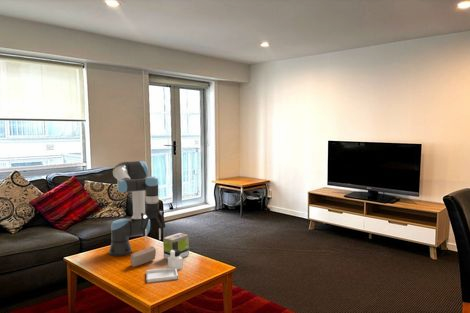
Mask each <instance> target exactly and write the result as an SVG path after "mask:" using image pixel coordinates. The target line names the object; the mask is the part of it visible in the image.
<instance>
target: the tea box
mask: <svg viewBox="0 0 470 313" xmlns="http://www.w3.org/2000/svg"><path fill="white" fill-rule="evenodd" d="M162 240H163V242H162V245H163V258H164V259H165V260H168V257H170V251H171V250H173V249H178V250H180V257H182V258H185V257H187V256H190V242H189V240H190V238H189V234H187V233H181V232H178V233H175V234H170V235H167V236H165V237H163V239H162Z"/></svg>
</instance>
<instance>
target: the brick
mask: <svg viewBox="0 0 470 313" xmlns="http://www.w3.org/2000/svg"><path fill="white" fill-rule="evenodd" d="M156 249H157V248H155V247H154V246H153V245H152V246H149V247H147V248H144V249H142V250H139V251H136V252H133V253H130V264H131V267H133V268H135V267H138V266H141V265H143V264H146V263H149V262H152V261H154V260H155V259H156V252H157V250H156Z"/></svg>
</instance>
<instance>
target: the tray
mask: <svg viewBox="0 0 470 313" xmlns="http://www.w3.org/2000/svg"><path fill="white" fill-rule="evenodd" d="M145 272H146V273H145V275H146V276H145V277H146V284H148V283H155V282H156V283H157V282H166V281H173V280H175V281H176V280H179V274H178V270H177V269H176V267H174V268H168V267H165V268H155V269H153V268H152V269H147V270H146V271H145Z"/></svg>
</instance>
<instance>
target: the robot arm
mask: <svg viewBox="0 0 470 313" xmlns="http://www.w3.org/2000/svg"><path fill="white" fill-rule="evenodd" d="M112 176H113V177H114V178H115V179H116V181H117V183H116V186H117V192H118V193H130V192H131V193H132V216H131V218H130V220H129V218H120V219H116V220H113V221H112V222H111V224H110V225H111V226H110V231H111V232H110V233H111V235H110V236H111V237H110V239H111V243H110V247H109V249H108V253H109V255H110V256H113V257H120V256H121V257H122V256H127V255H130V254H132V246H131V243H130V241H129V240H130V239H129V238H133V237H139V236H141V237H142V236H144V240H145V242H148V240H147V239H148V238H147V237H148V234H149V233H150V231H151V220H150V219H155V220H156V222H157V224H158V226H159V228H158V239H159V240H161V239H162V238H161V236H162V234H163V228H166V222H165V217H164V216H165V211H164V210H160V209H159V206H160V204H159V200H160V199H159V183H160V182H159V178H158V176H149V168H148V164H147V162H146V161H143V160H141V161H140V160H138V161H135V160H134V161H122V162H119V163H118V164H116V165H114V167H113V168H112ZM159 214H160V216H161V221H160V219H159V216H158V215H159ZM161 222H162V223H161Z"/></svg>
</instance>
